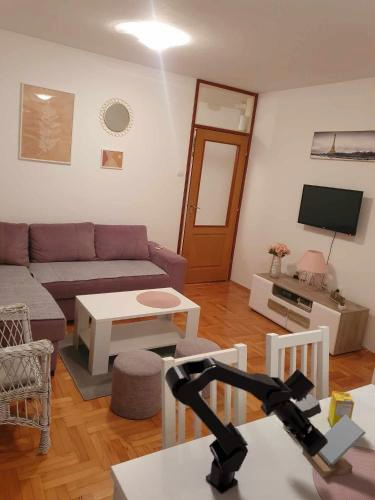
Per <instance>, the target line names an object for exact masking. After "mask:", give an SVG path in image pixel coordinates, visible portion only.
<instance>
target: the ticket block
mask: <svg viewBox="0 0 375 500" xmlns="http://www.w3.org/2000/svg"><path fill="white" fill-rule="evenodd" d="M302 448H303V447H302ZM302 454H303V456H304V458H306V459H307V461H308V462H309V464H310V465H312V466H313V468H314V469H315V471H316V472H317V473H318V474H319V475H320V477H321V478H322V479H323V478H329V477H334V476H335V477H336V476H339V475H345V474H349V473H352V471H353V465H352V464H351V463H350V462H349V461H348V460H347V459H346V458H345V456H344V455H343V456H342V457H341V458H340V459H339V460H338V461H337V462H336V463H335V464H334V465H333V466H332V467H331V466H330V465H329V464H328V463H327V462H326V461H325V460H324V458H323V457H322V456H321V455H320V454H319V453H317V454H316V455H315V456H314V457H311V456H310V455H309V454H308V453H307V452H306V450H305V449H304V448H303V449H302Z"/></svg>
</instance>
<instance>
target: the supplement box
mask: <svg viewBox="0 0 375 500" xmlns="http://www.w3.org/2000/svg"><path fill="white" fill-rule="evenodd" d="M354 405H355V401H354V400H353V398H352V396H351V394H350V392H349V393H348V392H344V391H343V392H342V391H335V390H332V392H331V397H330V401H329V409H328V414H327V420H328V423H329V426H330V429H331V428H332V427H333V426H334V425H335V424H336V423H337V422H338V421H339V420H340V419H341V418H342V417H343V416H344V415H345V414H346V415H347V416H348V417H349V418H350V419H351V420H352V416H353V411H354Z"/></svg>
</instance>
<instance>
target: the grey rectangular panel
mask: <svg viewBox="0 0 375 500" xmlns="http://www.w3.org/2000/svg"><path fill="white" fill-rule="evenodd" d="M323 435H324V436H325V437H326V438H327V440H328V443H327V444H326V445H325V446H324V447H323V448H322V449H321V450H320V451H319V452H318V453H319V454H320V455H321V456H322V457H323V458H324V460H325V461H326V462H327V463H328V464H329V465H330V466H331V467H332V466H333V465H334V464H335V463H336V462H337V461H338V460H339V459H340V458H341V457H342V456H343V457H344V455H345V454H346V453H347V452H348V451H349V450H350V449H351V448H352V447H353V446H354V445H355V444H357V442H359V440H360V439H361V438H363V436H365V435H366V431H365V430H364V429H363V428H362V427H360V426H359V425H358V424H357V423H356V422H355V421H354V420H352V418H351V419H350V418H349V417H348V416H347V415H346V414H345V415H344V416H343V417H342V418H341V419H340V420H339V421H338V422H337V423H336V424H335V425H334V426H333V427H332V428H331V427H330V429H329V430H328V431H326V433H324V434H323Z"/></svg>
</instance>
